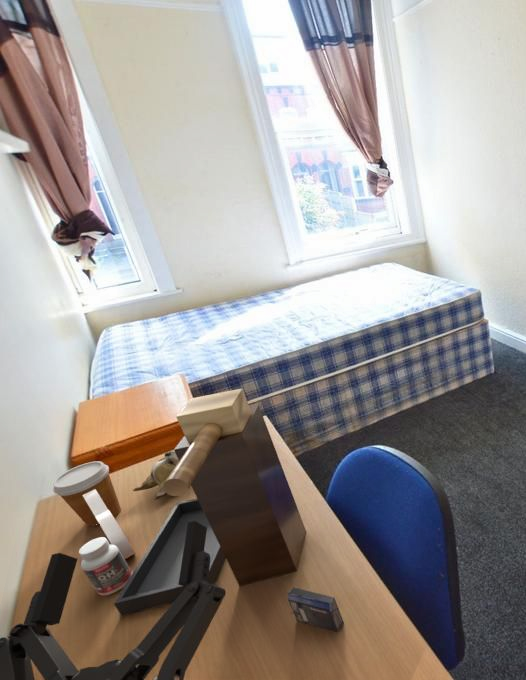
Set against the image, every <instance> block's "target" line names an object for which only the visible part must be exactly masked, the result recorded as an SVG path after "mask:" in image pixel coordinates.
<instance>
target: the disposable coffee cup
mask: <svg viewBox="0 0 526 680" xmlns="http://www.w3.org/2000/svg"><path fill="white" fill-rule="evenodd" d="M52 486H53V489H52V492H53V493H54V494H57V496H60V498H62V499H63V501H64V502H65V503H66V504H67V505H68V506H69V507H70V509H72V511H74V513H75V514H76V515H77V516H78V517H79V518H80V519H81V520H82V522H84V523H85V525H86V524H87V525H96V524H99V522H98V521H97V519H96V517H95V516H94V514H93V512H92V511H91V509H90V507H89V506H88V504H87V502H86V501H85V499H84V497H83V496H82V495H84V494H86V493H88V492H90V491H92V490H94V489H96V491H97V492H98V494H99V496H100V497H101V499H102V500H103V502H104V504H105V505H106V507H107V509H108V510H109V511H110V512H111V514H112V515H113V517H114V518H115V517H116V516H117V515H118V514H119V513H120V512H121V510H122V508H121V504H120V502H119V499H118V496H117V492H116V490H115V488H114V485H113V482H112V479H111V476H110V467H109V465H107V464H105V463H104V462H103V461H100V460H99V461H98V460H97V461H90V462H86V463H83V464H80V465H76V466H74V467H73V468H71V469H69V470H67V471H65V472H64V473H62V474H60V475H59V476H58V477H56V479H55V480H54V481H53V483H52ZM87 525H86V526H87ZM96 526H97V525H96Z"/></svg>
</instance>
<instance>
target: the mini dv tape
mask: <svg viewBox="0 0 526 680" xmlns="http://www.w3.org/2000/svg"><path fill="white" fill-rule="evenodd" d="M286 596H287V597H286V598H287V601H288V603H289V606H290V608H291V610H292V612H293V615H294V617H295V620H296V621H297V622H299V623H303V624H307V625H310V626H314V627H317V628H321V629H325V630H328V631H333V632H336V633H339V631H340V630H341V628H342V627H343V626H344V625H345V624H344V623H345V621H344V619H343V617H342V614H341V612H340V608H339V606H338V603H337V600H336V598H335V597H334V596H331V595H326V594H323V593H318V592H313V591H310V590H305V589H301V588H298V587H291V589H290V591H288V593H287V594H286Z"/></svg>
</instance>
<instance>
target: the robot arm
mask: <svg viewBox="0 0 526 680" xmlns="http://www.w3.org/2000/svg"><path fill="white" fill-rule="evenodd" d="M206 532H207V527H205V526H203V525H201V524H200V523H198V522H196V521H192V522H188V526H187V532H186V539H185V545H184V551H183V558H182V564H181V571H180V577H179V583H178V584H179V585H182V586H184V587H186V588H185V589H184V590H183V591H182V593H181V594H180V595H179V596H178V597H177V599H176V600H175V601H174V602H173V603H171V604H170V606H169V607H168V608H167V609H166V611H165V612H164V613H163V614H162V615H161V617H160V618H159V619H158V621H156V623H155V624H154V625H153V627H152V628H151V629H150V630H149V632H148V633H147V634H146V635H145V636H144V637H143V639H142V640H141V641H140V642H139V644H138V645H137V646H136V647H135V648H133V649H131V650H130V651H129V652H128V653H127V654H126V655H125V657H123V659H112V660H110V661H106V662H104V663H103V664H101V665H99V666H88V667H84V668H80V670H79V669H78V668H77V667H76V665H75V664H74V663H73V661H72V660H71V659H70V657H69V656H68V654H67V653H66V651H65V650H64V649H63V647H62V646H61V645H60V643H59V641H58V640H57V639H56V637H55V636H54V635H53V633H52V631H50V629H49V628H48V626H54V625H59V624H60V622H61V619H62V616H63V613H64V608H65V605H66V602H67V599H68V598H67V597H68V595H69V590H70V587H71V583H72V580H73V577H74V573H75V569H76V566H77V562H78V558H77V557H75V556H74V557H73V556H71V555H67V554H65V553H61V552H57V553H53V554H51V557H50V559H49V562H48V566H47V568H46V572H45V575H44V578H43V582H42V584H41V588H40V590H39V591H35V593H34V594H33V596H32V597H31V599H30V603H29V606H28V608H27V609H28V610H27V612H26V616H25V618H24V621H23V623H18V624H16V625H14V626H13V627H12V628H11V629H10V631H9V636H6V637H4V636H3V637H0V680H36V679H35V674H34V669H33V665H34V666H35V667H36V669H37V671H38V672H39V673H40V675H41V677H42V678H43V680H145V679H146V678H147V677H148V675H149V674H150V673H151V671H152V670H153V669H154V668H155V666H156V665H157V664H158V662H159V660H160V656H161V655H162V653H163V652H164V651H165V650H166V648H167V647H168V646H169V645H170V643H171V642H172V640H173V639H174V638H175V637H176V635H177V634H178V635H177V637H176V638H175V640H174V642H173V644H172V646H171V648H170V649H169V651H168V652H167V655H166V656H165V658H164V659H163V662H162V664H161V666H160V669H159V670H158V674H156V676H154V677H153V678H152V679H151V680H185V676H186V672H187V669H188V667H189V666H190V663H191V662H192V660H193V658H194V656H195V654H196V652H197V650H198V648H199V646H200V644H201V642H202V641H203V639H204V637H205V635H206V633H207V631H208V629H209V627H210V625H211V623H212V621H213V619H214V617H215V616H216V614H217V612H218V610H219V608H220V606H221V604H222V602H223V601H224V598H225V597H226V594H227V590H226V588H225V587H221V586H219V585H216V584H215V585H214V584H208V576H209V567H210V559H211V558H210V555H209V554H208V553H206V552H204V547H205V540H206ZM32 663H33V665H32Z"/></svg>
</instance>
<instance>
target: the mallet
mask: <svg viewBox="0 0 526 680" xmlns="http://www.w3.org/2000/svg"><path fill="white" fill-rule="evenodd" d="M250 407H251V406H250V404H249V402H248V398H247V397H246V394H245V391H244V388H238V389H237V388H236V389H233V390H227V391H222V392H217V393H216V392H215V393H212V394H207V395H201V396H197V397H191V398H190V399H189V400H188V402H187V403H186V404H185V405H184V406H183V408H182V409H181V410H180V411H179V413H178V414H177V415H176V419H177V423H178V424H179V426H180V429H181V430H182V433H183V435H184V436H185V437H186V439H187V441H188V443H192V444H191V445H190V447H189V448H188V449H187V451H186V452H185V454H184V455H183V457H182V458H181V460H180V461H179V462H178V464H177V465H176V467H175V468H174V470H173V471H172V473H171V474H170V476H169V477H168V478H167V480H166V481H165V483H164V485H163V489H164V491H165V492H166V493H167V494H169V495H168V496H172V497H180V496H183V495H185V494H186V493H187V491H188V490H189V488H190V487H191V483H192V482H193V480H194V478H195V477H196V475H197V473H198V472H199V470H200V468H201V467H202V465H203V464H204V462H205V460H206V459H207V457H208V455H209V454H210V452H211V450H212V449H213V447H214V445H215V444H216V442H217V440H218V439H219V437H221V436H225V435H230V434H235V433H239V432H242V431H243V429H244V427H245V426H246V424H247V422H248V420H249V418H250V416H251V414H252V412H251V409H250Z"/></svg>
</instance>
